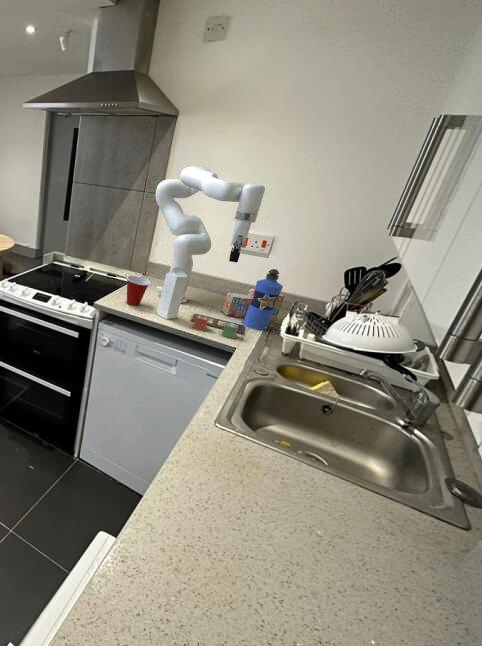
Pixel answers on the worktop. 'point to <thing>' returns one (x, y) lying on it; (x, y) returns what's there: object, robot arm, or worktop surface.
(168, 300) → the milk
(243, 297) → the stack of blocks
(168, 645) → the worktop surface
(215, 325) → the word board
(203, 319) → the letter H
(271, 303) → the water bottle
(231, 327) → the letter I
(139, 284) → the plastic cup
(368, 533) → the worktop surface
